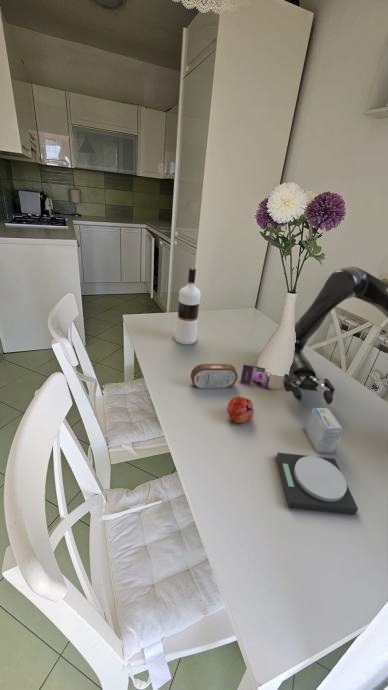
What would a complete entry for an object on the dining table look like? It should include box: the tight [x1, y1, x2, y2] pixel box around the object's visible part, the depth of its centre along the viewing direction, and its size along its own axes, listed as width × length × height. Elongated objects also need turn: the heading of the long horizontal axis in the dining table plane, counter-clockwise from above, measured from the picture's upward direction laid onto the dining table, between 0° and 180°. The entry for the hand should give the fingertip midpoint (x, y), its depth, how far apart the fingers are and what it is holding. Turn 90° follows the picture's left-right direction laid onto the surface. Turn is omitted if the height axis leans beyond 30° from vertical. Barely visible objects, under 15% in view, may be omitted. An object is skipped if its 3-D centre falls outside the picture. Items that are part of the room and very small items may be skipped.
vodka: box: [173, 267, 202, 345], centre depth 119 cm, size 9×9×30 cm
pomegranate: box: [226, 396, 255, 424], centre depth 85 cm, size 7×7×10 cm
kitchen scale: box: [275, 452, 359, 516], centre depth 68 cm, size 14×13×4 cm
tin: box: [190, 363, 238, 389], centre depth 97 cm, size 15×3×8 cm, turn 100°
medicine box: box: [305, 407, 343, 453], centre depth 79 cm, size 8×4×9 cm, turn 5°
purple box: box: [240, 364, 270, 389], centre depth 102 cm, size 7×5×9 cm
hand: (315, 400), depth 86 cm, fingers open, 8 cm apart
